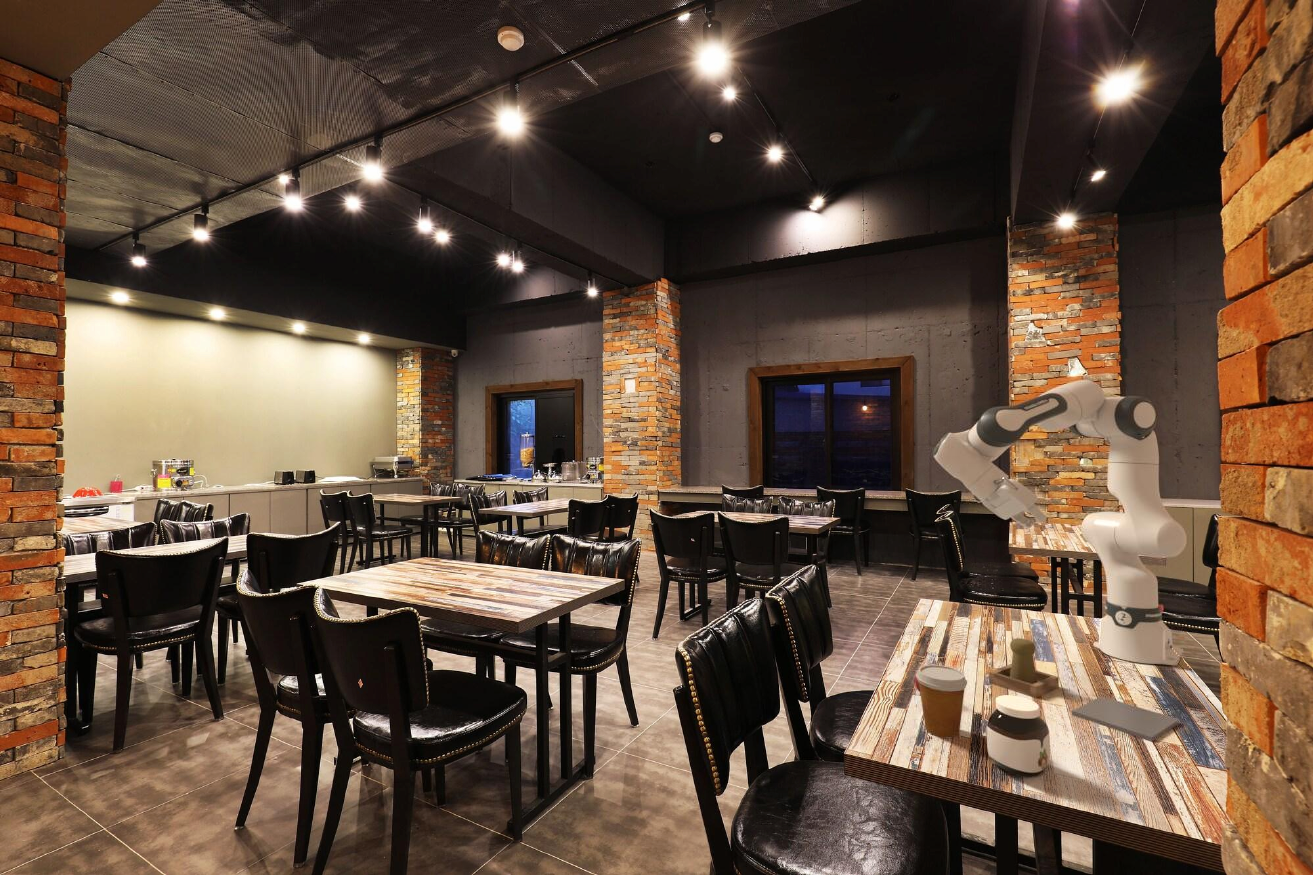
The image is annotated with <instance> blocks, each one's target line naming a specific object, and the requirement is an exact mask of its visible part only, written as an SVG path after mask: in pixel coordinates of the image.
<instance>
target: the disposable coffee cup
mask: <svg viewBox="0 0 1313 875" xmlns="http://www.w3.org/2000/svg"><path fill="white" fill-rule="evenodd" d="M917 672H918V673H917ZM917 672H916V673H917V674H916V673H915V676H916V678H917V680H918V682H919V687H920V692H919V694H920V700H921V706H922V712H923V719H924V720H923V721H924V725H925V726H924V727H925V728H924V729H925V730H926V731H927V732H928V733H929V734H931V735H933V736H936V737H939V738H944V739H953V738H958V737H959V736H960V731H961V730H960V729H961V723H962V721H961V720H962V714H963V705H964V695H965V689H966V687H967V685H968V680H967V679H966V677H965V676H966V675H965V674H964V673H963V672H962V671H961V670H959V669H957V668H954V667H952V666H947V665H942V664H931V665H927V664H925V665H921V666H919V668H918V670H917Z"/></svg>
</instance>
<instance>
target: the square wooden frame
mask: <svg viewBox="0 0 1313 875" xmlns="http://www.w3.org/2000/svg"><path fill="white" fill-rule="evenodd" d="M1011 664H1012V663H1010V664H1007V665H1004V666H1002V667H999V668H997V669H994V670H991V671H989V672H988V683H989V684H992V685H996V686H999V687H1002V688H1004V689H1007V690H1010V691H1013V692H1016V693H1019V694H1023V695H1026V696H1029V697H1032V698H1035V699H1036V698H1039V697H1041V696H1043V695H1045V694H1048V693H1049V692H1052V691H1054V690H1056V689H1058V688H1060V684H1059V682H1060V681H1059V679H1060V678H1059V676H1058V675H1057V676H1056V675H1052V674H1050V673H1046V672H1042V671H1039V670H1036V669H1035V672H1036V677H1037V683H1034V684H1030V683H1027V682H1024V681H1021V680H1018V679H1014V678H1011V677H1010V672H1011Z"/></svg>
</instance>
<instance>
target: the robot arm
mask: <svg viewBox="0 0 1313 875" xmlns="http://www.w3.org/2000/svg"><path fill="white" fill-rule="evenodd" d="M1105 396H1106V395H1105V392H1104V390H1103V388H1102V387H1101V386H1100V385H1099V384H1098V383H1096V382H1095V381H1093V380H1089V379H1079V380H1075V381H1071V382H1068V383H1065V384H1061V385H1058V386H1056V387H1054V388H1051V389H1049V390H1047V391H1045V392H1043V393H1041V394H1040V395H1038V396H1037V397H1035V398H1032V399H1031V398H1030V399H1029V400H1026V401H1023V402H1021V403H1018V404H1015V405H1009V406H1007V405H1005V406H1004V405H1003V406H994V407H991V408H989V409H987V410H985V411H984V412H983V413H982V415H981V416H980V418H979V419H978V421H977V422H976V423H974V425H973V427H971V428H970V429H968V430H965V431H961V432H955V433H954V432H948V433H945V435H943V437H941V439H940V441H939V442H938V443H937V444H936V446H935V448H934V449H933V452H932V455H933V458H934V460H935V462H937V463H938V464H939V465H940V466H941V467H942V468H943V470H945V471H946V472H947V473H949V475H951V476H952V477H953V478H955V479H957V480H959V481H960V482H961V483H963V485H964V486H965V488H966V489H967V490H969V491H970V492H971V494H972V499H973V500H974V501H975V502H977V503H979V504H980V503H982V505H983V506H984V507H986V508H987V509H988V510H989V511H991V512H992V513H993V514H995V515H996V516H997V517H999V518H1000V519H1003V520H1005V521H1006V520H1009V519H1010V518H1011V519H1012V520H1014V522H1017V523H1019V524H1021V525H1022V526H1024V528H1026V529H1030V528H1032V527H1033V526H1034V524H1035V523H1034V521H1032V520H1031V519H1030V518H1027V517H1026V516H1024V515H1022V512H1024V511H1026V512H1027V513H1029V514H1031V515H1032V517H1033V519H1034V520H1035V521H1037V522H1038V523H1039V524H1043V523H1045V521H1047V519H1048V517H1047V516H1046V514H1044V513H1043V512H1042V510H1041V509H1040V508H1039V506H1038V505H1036V504H1035V503H1036V502H1038V500H1039V498H1038V496H1037V495H1036V494H1035V493H1034V492H1032V490H1031V489H1029V488H1027V487H1026V486H1024V485H1023V484H1022V483H1020V482H1019V481H1017V480H1016V479H1014V478H1009V475H1008V474H1007V473H1005V471H1003V470H1002V469H1000V468H999V467H998V466H997V465H996V464H995V463H993V461H995V460H997V459H998V458H999V457H1000V456H1001V455H1003V453H1004V452H1005V451H1007V449H1009V448H1010V447H1011V446H1012V445H1013V444H1015V443H1016V442H1018V441H1019V440H1020V439H1021V438H1022V437H1023V435H1025V433H1026V432H1027V430H1028V429H1029V428H1032V427H1033V426H1037V427H1039V429H1042V430H1044V431H1048V432H1049V433H1050V432H1052V433H1053V432H1057V431H1061V430H1065V429H1067V428H1068V429H1069V431H1070V432H1071V433H1073V435H1075V436H1079V437H1082V438H1099V439H1102V438H1103V439H1106V438H1107V440H1108V441H1109V450H1108V457H1107V458H1108V459H1107V482H1106V483H1107V485H1106V486H1107V487H1106V488H1107V490H1108V492H1109V493H1110V494H1111V495H1112V496H1113V497H1114V498H1116V499H1117V500H1118V501H1119V502H1120V503H1121V505H1122V507H1123V512H1120V511H1119V512H1117V511H1096V512H1090V513H1089V514H1087V515H1086V516H1085V517H1084V519H1083V520H1082V523H1081V526H1080V527H1081V528H1080V530H1081V535H1082V537H1083V539H1084V540H1085V541H1086V543H1088V544H1089V545H1091V547H1092V548H1093V550H1095V552H1096V553H1097V555H1098V558H1099V559H1100V562H1101V563H1102V566H1103V569H1104V573H1105V579H1106V580H1105V581H1106V583H1105V584H1106V599H1105V604H1104V609H1105V610H1104V612H1105V614H1106V615H1105V616H1103V617H1102V618H1100V620H1099V634H1098V641H1094V642H1093V647H1095V648H1097V649H1099V650H1100V651H1101V652H1102V653H1104V654H1106V655H1108V656H1110V657H1113V658H1115V659H1116V658H1117V659H1121V660H1123V661H1128V662H1133V663H1140V664H1152V665H1153V664H1154V665H1155V664H1156V665H1168V666H1178V665H1179V662H1180V660H1181V659H1180V657H1181V658H1182V656H1183V655H1184V648H1181V647H1178V646H1175V645H1173V632H1172V630H1171V629H1170V628H1169V627H1168V626H1167V625H1166V624H1165V622H1164V621H1163V615H1162V613H1163V612H1164V605H1163V604H1159V587H1158V584H1159V583H1158V581H1159V580H1158V579H1157V576H1156V575H1155V574H1154V573H1153V572H1152V571H1151V570H1149V569H1148V568H1147V567H1146V566H1145V565H1144V563H1143V562H1142V560H1141V559H1140V557H1139V556H1142V557H1149V558H1174V557H1177V556H1179V555H1180V554H1181V553H1182V552H1183V551H1184V550H1185V548H1186V545H1187V540H1188V539H1187V537H1188V536H1187V533H1186V531H1185V529H1184V528H1183V526H1182V525H1181V524H1180V523H1178V522H1177V521H1176V520H1175V519H1174V518H1172V516H1171V515H1170V514H1169V513H1168V511H1167V509H1166V508H1165V505H1164V503H1163V501H1162V499H1161V494H1160V486H1159V485H1160V483H1159V473H1160V472H1159V471H1160V469H1159V468H1160V456H1159V445H1158V440H1157V435H1156V433H1155V430H1154V428H1155V426H1156V423H1157V421H1158V413H1157V409H1156V407H1155V405H1154V404H1153V403H1152V401H1151V400H1150V399H1148V398H1146V397H1143V396H1138V395H1137V396H1135V395H1127V396H1110V397H1105ZM1172 648H1173V649H1172ZM1174 650H1175V651H1176V652H1177V654H1176V652H1174ZM1178 655H1179V656H1178Z"/></svg>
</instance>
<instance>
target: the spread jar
mask: <svg viewBox="0 0 1313 875" xmlns="http://www.w3.org/2000/svg"><path fill="white" fill-rule="evenodd" d="M985 736H986V744H987V745H986V747H987V748H986V749H987V753H988V757H989V759H991V761H992V762H993V763H994V764H995V765H997V766H998V767H999V768H1000V769H1002V770H1004V771H1005V772H1006V773H1009V774H1011V775H1015V776H1017V777H1022V778H1023V777H1024V778H1035V777H1036V778H1037V777H1038V776H1040V775H1042V774H1043V773H1044V772H1045V770H1046V769H1047V768H1048V765H1049V763H1050V757H1051V756H1050V755H1051V741H1050V739H1051V738H1050V729H1049V726H1048V724H1047V722H1046V721H1045V720H1044V719H1043V718H1042V717H1041V716H1040V706H1039V704H1038V703H1037V702H1036V701H1033V700H1031V699H1029V698H1026V697H1023V696H1018V695H1009V694H1007V695H1006V694H1004V695H999V696H997V697H996V698H995V709H994V711H993V712H992V713H991V714H990V716H989V717H988V720H987V725H986V727H985Z"/></svg>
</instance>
